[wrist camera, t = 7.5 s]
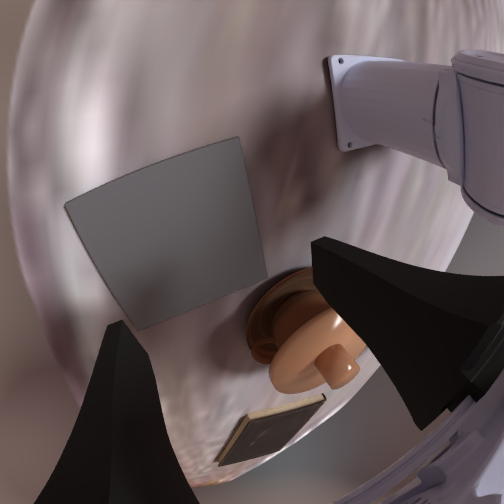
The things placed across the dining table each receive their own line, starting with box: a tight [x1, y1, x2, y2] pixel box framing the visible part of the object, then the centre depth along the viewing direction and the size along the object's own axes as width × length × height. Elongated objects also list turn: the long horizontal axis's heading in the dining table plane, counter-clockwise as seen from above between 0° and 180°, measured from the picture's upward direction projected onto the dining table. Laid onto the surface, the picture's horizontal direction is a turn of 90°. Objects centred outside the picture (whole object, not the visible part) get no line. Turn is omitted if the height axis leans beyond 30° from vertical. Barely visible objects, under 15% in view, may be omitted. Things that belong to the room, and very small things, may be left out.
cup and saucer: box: [246, 267, 332, 364], centre depth 26 cm, size 12×12×6 cm
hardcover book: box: [218, 393, 326, 467], centre depth 45 cm, size 16×23×2 cm
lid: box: [269, 308, 367, 394], centre depth 22 cm, size 11×11×4 cm
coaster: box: [65, 137, 268, 331], centre depth 19 cm, size 12×12×1 cm
